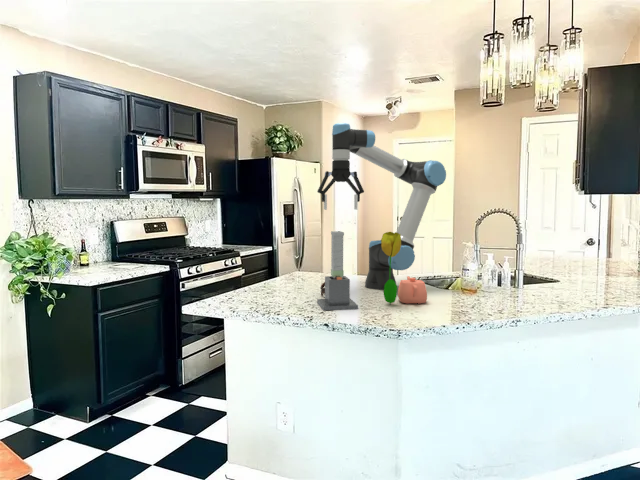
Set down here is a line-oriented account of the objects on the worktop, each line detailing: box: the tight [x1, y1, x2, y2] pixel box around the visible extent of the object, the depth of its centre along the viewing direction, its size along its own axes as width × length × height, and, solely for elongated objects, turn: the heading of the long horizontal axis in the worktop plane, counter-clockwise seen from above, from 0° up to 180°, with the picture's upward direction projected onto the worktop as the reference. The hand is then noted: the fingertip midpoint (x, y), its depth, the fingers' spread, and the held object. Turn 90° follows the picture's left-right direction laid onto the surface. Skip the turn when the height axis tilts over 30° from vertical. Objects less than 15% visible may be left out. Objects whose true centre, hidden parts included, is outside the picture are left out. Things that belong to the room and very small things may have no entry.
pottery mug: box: [319, 281, 325, 296], centre depth 217 cm, size 12×10×8 cm
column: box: [330, 230, 345, 279], centre depth 194 cm, size 4×6×21 cm
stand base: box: [316, 275, 359, 311], centre depth 195 cm, size 14×14×12 cm
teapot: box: [397, 275, 428, 305], centre depth 204 cm, size 12×18×10 cm, turn 0°
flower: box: [380, 231, 401, 306], centre depth 197 cm, size 9×8×30 cm
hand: (340, 209), depth 209 cm, fingers open, 13 cm apart
